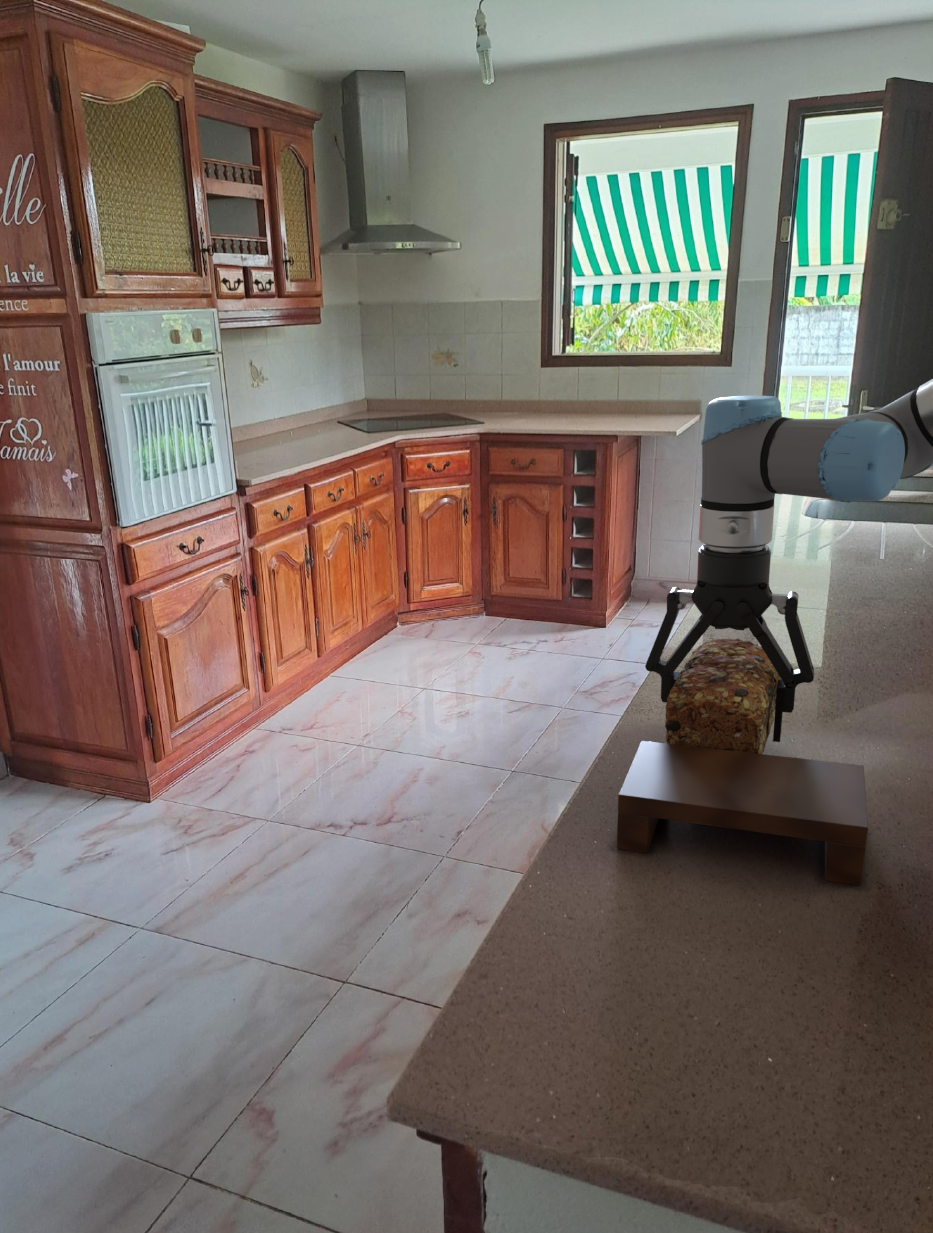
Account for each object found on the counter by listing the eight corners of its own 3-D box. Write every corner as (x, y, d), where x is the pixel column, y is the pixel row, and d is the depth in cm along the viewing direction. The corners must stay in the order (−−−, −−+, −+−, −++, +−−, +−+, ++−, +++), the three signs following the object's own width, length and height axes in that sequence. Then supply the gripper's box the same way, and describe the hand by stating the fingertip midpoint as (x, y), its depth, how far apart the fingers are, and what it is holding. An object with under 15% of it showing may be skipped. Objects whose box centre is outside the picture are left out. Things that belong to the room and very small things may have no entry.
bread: (694, 705, 122) (697, 630, 118) (783, 715, 117) (789, 637, 114) (659, 764, 106) (662, 680, 103) (760, 779, 102) (766, 691, 98)
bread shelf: (857, 818, 98) (863, 765, 96) (860, 886, 87) (868, 827, 84) (639, 790, 106) (641, 740, 104) (616, 848, 94) (618, 794, 92)
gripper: (620, 549, 105) (617, 735, 112) (852, 556, 96) (833, 756, 104) (632, 535, 111) (629, 711, 119) (851, 540, 103) (832, 729, 110)
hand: (724, 732), depth 111 cm, fingers closed on bread, 11 cm apart
